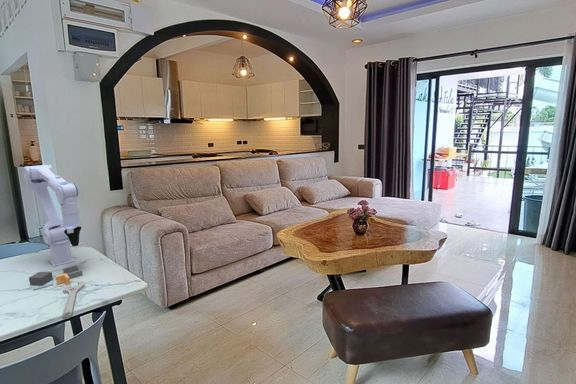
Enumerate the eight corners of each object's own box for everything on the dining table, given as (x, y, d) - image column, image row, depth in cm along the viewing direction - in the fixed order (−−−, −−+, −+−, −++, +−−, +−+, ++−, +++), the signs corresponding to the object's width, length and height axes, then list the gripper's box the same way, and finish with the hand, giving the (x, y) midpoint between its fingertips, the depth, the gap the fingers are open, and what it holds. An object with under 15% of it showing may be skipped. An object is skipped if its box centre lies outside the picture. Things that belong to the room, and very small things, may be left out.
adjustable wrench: (72, 319, 104) (71, 314, 104) (47, 324, 102) (46, 319, 101) (86, 284, 127) (85, 280, 126) (66, 287, 124) (65, 283, 124)
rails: (29, 281, 129) (29, 280, 129) (47, 276, 133) (47, 275, 133) (33, 291, 121) (33, 289, 121) (53, 285, 125) (53, 284, 125)
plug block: (40, 280, 130) (39, 271, 130) (53, 280, 130) (51, 272, 129) (30, 286, 126) (28, 277, 125) (43, 286, 125) (41, 277, 125)
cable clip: (63, 273, 136) (62, 268, 135) (77, 269, 139) (76, 264, 139) (68, 279, 130) (67, 274, 129) (82, 275, 133) (82, 270, 133)
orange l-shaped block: (56, 283, 127) (55, 275, 126) (67, 280, 129) (66, 273, 128) (59, 287, 123) (58, 280, 123) (70, 284, 126) (69, 277, 125)
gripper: (61, 211, 140) (66, 242, 142) (55, 218, 127) (61, 252, 129) (81, 208, 143) (85, 239, 145) (77, 216, 130) (82, 249, 133)
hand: (75, 245), depth 138 cm, fingers closed
